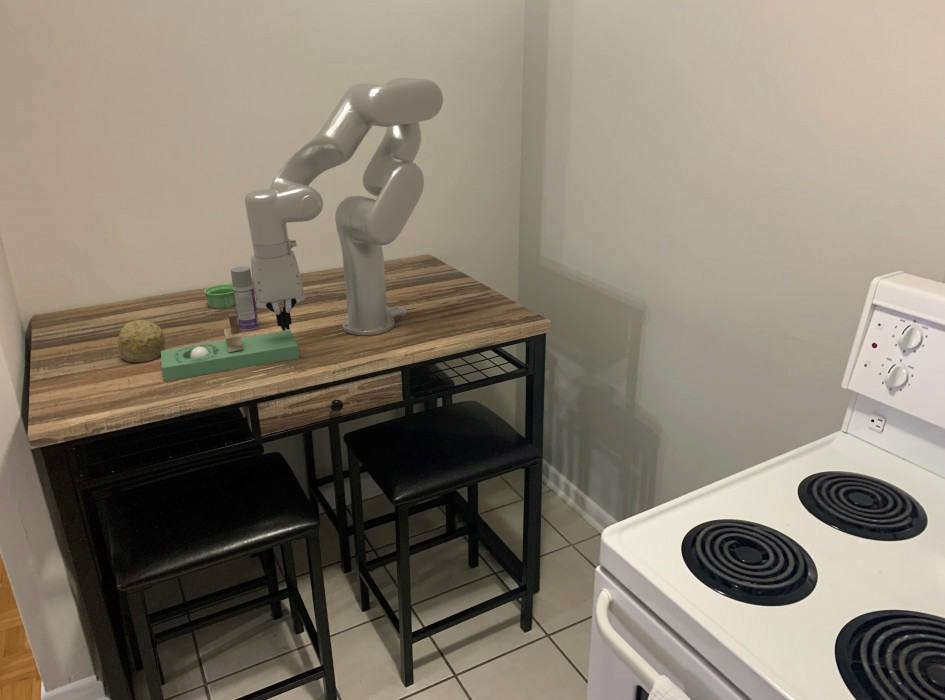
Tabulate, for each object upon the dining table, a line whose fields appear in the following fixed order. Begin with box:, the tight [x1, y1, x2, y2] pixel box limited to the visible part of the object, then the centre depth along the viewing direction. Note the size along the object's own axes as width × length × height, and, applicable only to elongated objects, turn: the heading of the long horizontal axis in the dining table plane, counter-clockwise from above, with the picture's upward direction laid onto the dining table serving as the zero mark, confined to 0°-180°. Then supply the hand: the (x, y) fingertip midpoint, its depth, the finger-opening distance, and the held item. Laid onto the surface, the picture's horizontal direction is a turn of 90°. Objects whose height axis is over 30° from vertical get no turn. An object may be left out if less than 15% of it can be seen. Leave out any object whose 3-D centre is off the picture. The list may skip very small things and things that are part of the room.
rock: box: [117, 319, 166, 363], centre depth 164 cm, size 10×11×10 cm
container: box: [230, 265, 260, 332], centre depth 177 cm, size 5×5×15 cm
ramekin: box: [203, 283, 236, 310], centre depth 195 cm, size 9×9×4 cm
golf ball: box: [190, 347, 209, 359], centre depth 158 cm, size 4×4×4 cm
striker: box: [223, 312, 243, 352], centre depth 159 cm, size 3×6×7 cm, turn 23°
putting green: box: [160, 329, 300, 382], centre depth 161 cm, size 28×10×3 cm, turn 112°
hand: (285, 327), depth 164 cm, fingers closed
